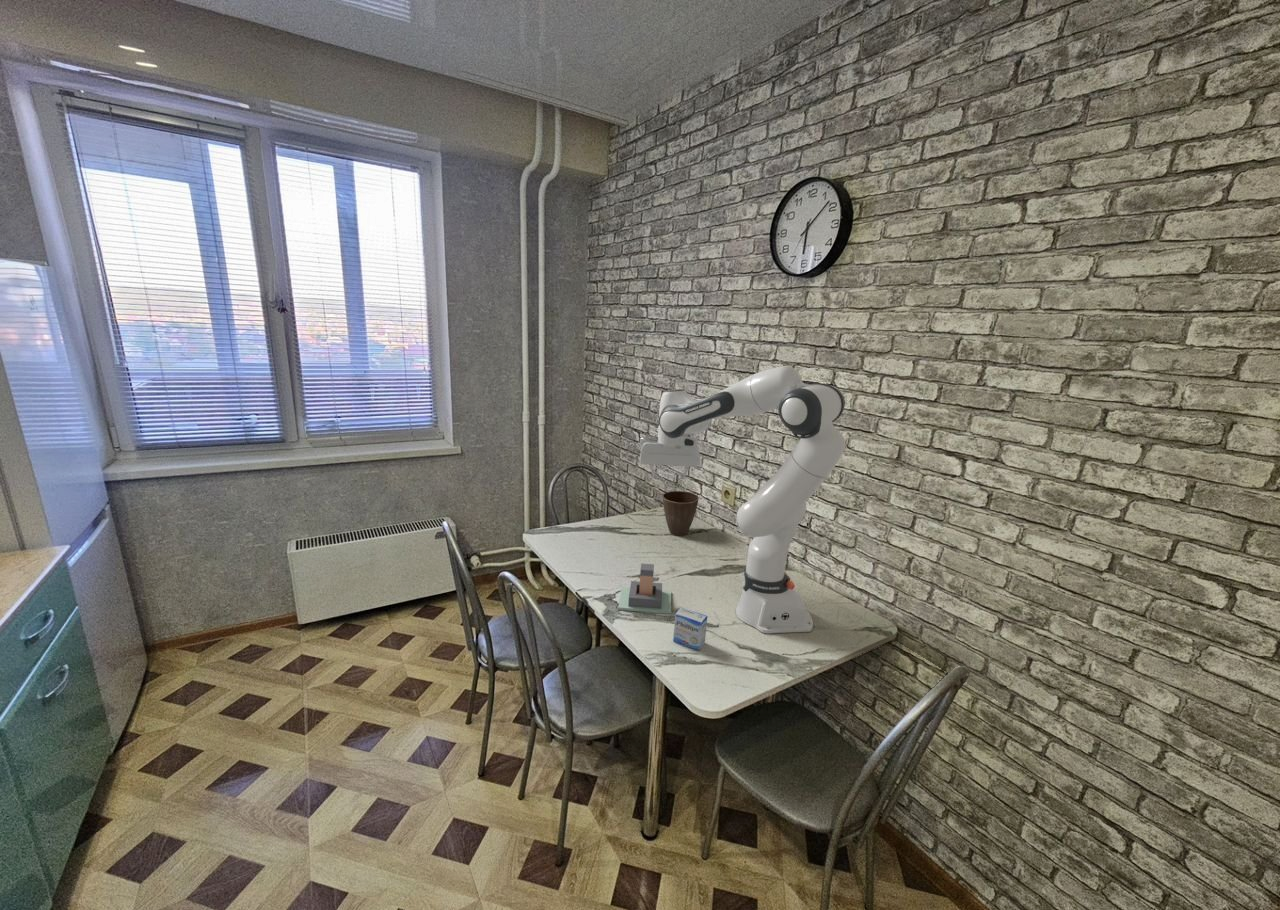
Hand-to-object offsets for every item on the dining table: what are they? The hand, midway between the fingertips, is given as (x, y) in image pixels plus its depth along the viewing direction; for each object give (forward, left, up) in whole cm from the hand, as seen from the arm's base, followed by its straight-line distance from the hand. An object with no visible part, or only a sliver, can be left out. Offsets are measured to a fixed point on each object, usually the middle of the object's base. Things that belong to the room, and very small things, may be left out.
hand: (668, 477), depth 166 cm
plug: (+5, +22, -33) cm, 40 cm away
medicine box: (-8, +41, -34) cm, 54 cm away
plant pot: (-6, -33, -34) cm, 48 cm away
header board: (+5, +22, -34) cm, 41 cm away
